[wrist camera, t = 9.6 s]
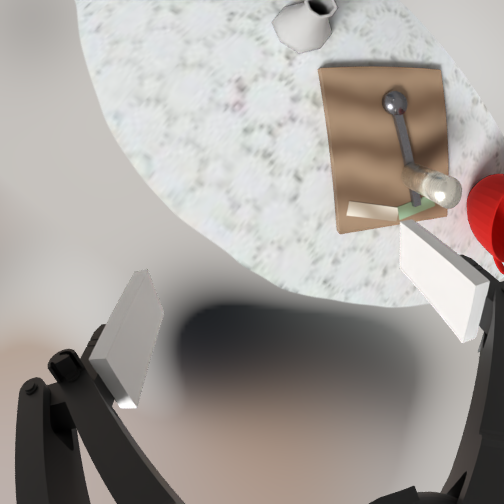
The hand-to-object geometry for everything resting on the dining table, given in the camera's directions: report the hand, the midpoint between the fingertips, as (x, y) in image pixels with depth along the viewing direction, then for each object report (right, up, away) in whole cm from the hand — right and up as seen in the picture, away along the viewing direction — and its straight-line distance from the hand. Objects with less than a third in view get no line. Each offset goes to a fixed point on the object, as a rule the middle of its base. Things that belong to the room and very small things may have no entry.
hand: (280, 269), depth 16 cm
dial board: (+17, +15, +23) cm, 33 cm away
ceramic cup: (+37, +8, +28) cm, 47 cm away
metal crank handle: (+19, +14, +22) cm, 32 cm away
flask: (+5, +29, +17) cm, 34 cm away
